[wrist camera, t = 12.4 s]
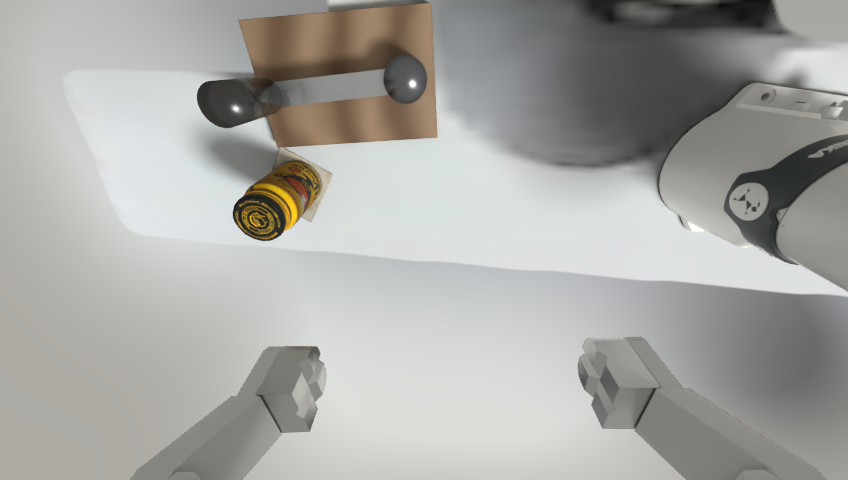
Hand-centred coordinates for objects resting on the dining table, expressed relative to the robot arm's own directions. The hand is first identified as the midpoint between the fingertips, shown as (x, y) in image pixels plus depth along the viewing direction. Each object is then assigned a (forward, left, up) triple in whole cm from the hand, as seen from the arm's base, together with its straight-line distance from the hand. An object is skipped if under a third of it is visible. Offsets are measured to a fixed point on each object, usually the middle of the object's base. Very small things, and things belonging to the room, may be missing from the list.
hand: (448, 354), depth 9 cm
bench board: (+10, -7, -33) cm, 35 cm away
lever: (+10, -6, -31) cm, 33 cm away
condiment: (+20, +6, -33) cm, 39 cm away
